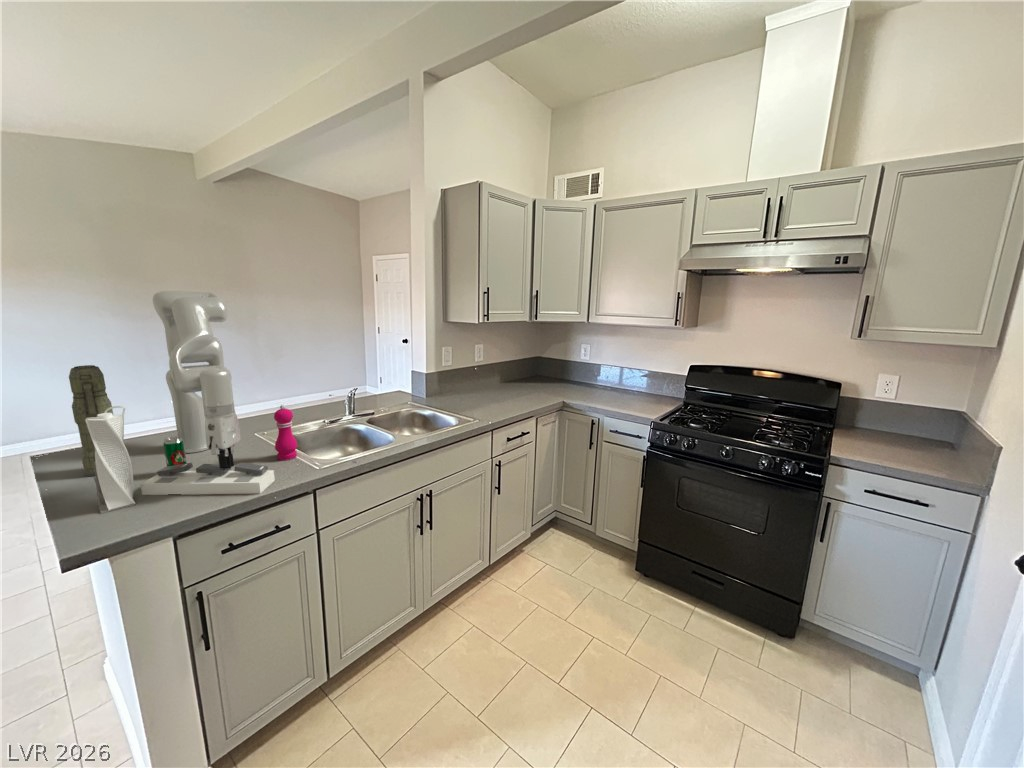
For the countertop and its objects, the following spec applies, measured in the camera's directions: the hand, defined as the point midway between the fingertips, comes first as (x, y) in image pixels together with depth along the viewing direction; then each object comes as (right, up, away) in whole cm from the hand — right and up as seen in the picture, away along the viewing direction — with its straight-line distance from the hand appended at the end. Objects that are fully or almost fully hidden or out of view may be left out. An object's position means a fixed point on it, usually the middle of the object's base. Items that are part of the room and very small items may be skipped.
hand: (226, 467), depth 126 cm
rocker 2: (+7, -1, +1) cm, 7 cm away
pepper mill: (+6, -1, +24) cm, 24 cm away
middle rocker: (-4, -1, 0) cm, 4 cm away
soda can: (-22, -4, +8) cm, 24 cm away
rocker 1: (-15, -1, -1) cm, 15 cm away
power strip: (-4, -6, -1) cm, 7 cm away
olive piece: (-46, -3, +8) cm, 47 cm away
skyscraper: (-21, -8, -12) cm, 26 cm away
